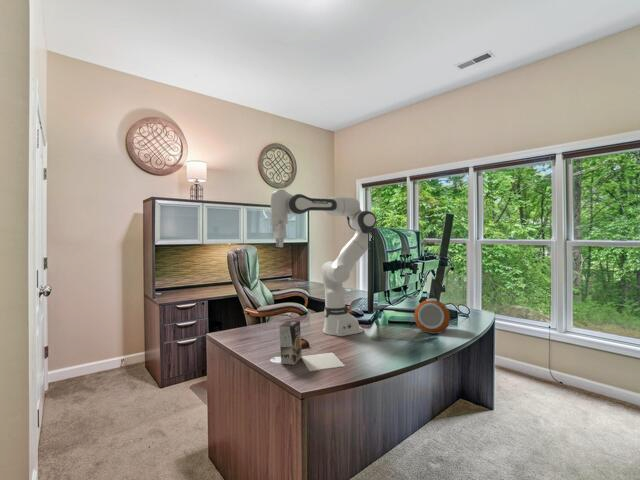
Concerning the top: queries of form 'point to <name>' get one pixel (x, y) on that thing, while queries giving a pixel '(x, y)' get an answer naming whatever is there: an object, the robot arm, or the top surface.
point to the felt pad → (322, 361)
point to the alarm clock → (432, 316)
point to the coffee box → (290, 342)
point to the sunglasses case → (304, 343)
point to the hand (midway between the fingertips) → (279, 247)
